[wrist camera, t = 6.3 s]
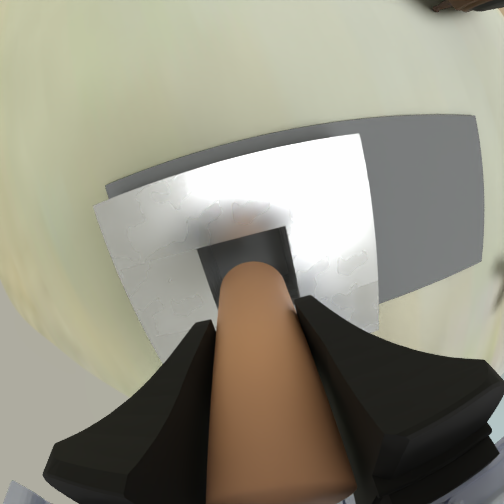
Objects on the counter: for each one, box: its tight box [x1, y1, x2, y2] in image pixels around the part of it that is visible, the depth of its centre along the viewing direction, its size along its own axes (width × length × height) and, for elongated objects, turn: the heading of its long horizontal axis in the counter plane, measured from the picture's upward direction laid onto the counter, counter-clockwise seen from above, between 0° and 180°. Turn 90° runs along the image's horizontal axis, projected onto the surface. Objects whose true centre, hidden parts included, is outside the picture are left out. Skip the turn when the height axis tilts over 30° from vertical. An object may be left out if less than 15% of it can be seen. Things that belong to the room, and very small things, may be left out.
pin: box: [206, 261, 357, 504], centre depth 8 cm, size 3×3×10 cm
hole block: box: [93, 134, 379, 363], centre depth 16 cm, size 12×14×4 cm
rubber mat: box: [105, 115, 484, 304], centre depth 18 cm, size 14×30×1 cm, turn 104°
